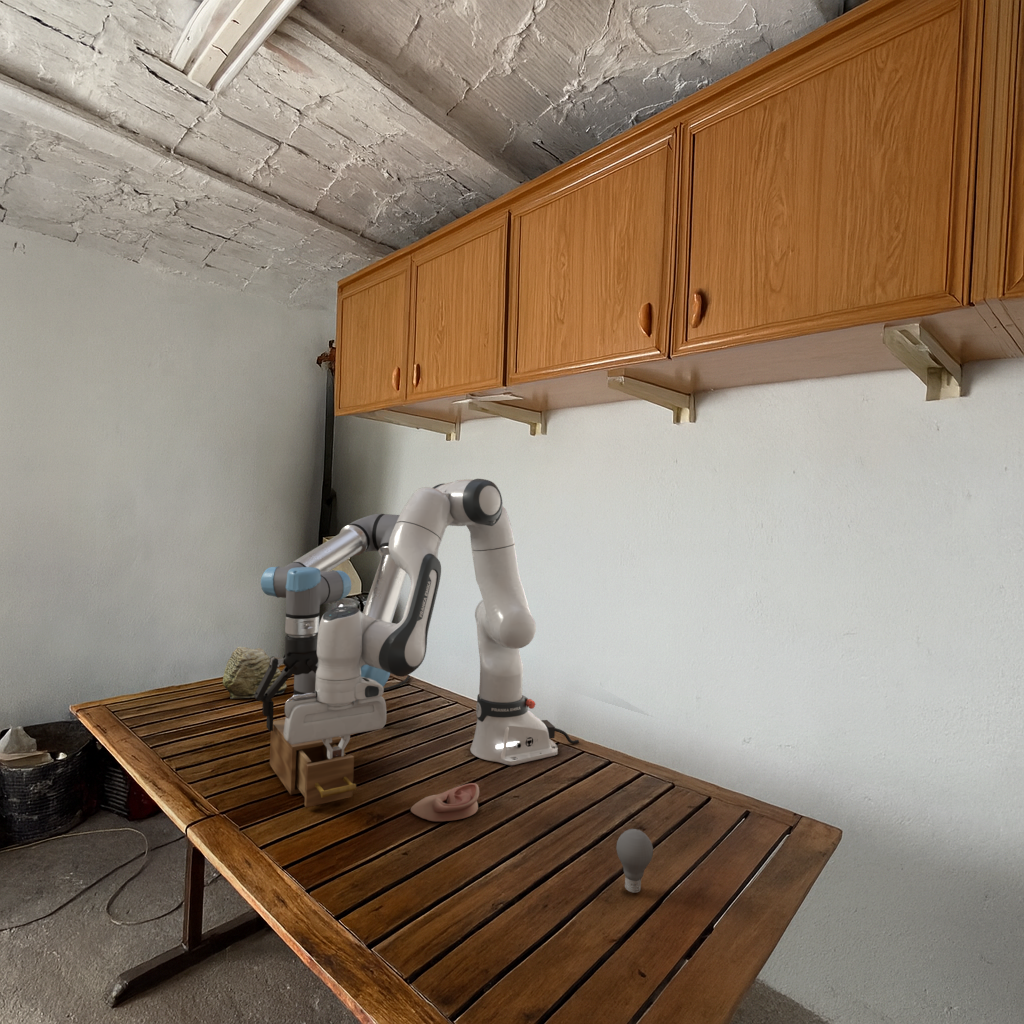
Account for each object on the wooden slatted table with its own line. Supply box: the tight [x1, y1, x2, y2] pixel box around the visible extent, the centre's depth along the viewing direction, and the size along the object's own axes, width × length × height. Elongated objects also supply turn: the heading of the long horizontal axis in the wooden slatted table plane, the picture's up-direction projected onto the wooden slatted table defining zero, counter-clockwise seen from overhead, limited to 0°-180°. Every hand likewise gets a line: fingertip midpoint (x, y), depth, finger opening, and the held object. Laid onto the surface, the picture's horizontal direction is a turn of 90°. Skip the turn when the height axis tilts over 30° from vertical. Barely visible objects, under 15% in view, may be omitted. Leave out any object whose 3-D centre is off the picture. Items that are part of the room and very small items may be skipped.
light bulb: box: [615, 828, 654, 894], centre depth 106 cm, size 6×6×10 cm
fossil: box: [222, 646, 288, 699], centre depth 198 cm, size 9×18×15 cm, turn 132°
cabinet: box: [269, 718, 342, 796], centre depth 144 cm, size 18×11×10 cm, turn 35°
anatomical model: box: [410, 782, 480, 822], centre depth 131 cm, size 13×4×12 cm
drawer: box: [295, 743, 357, 808], centre depth 134 cm, size 22×10×8 cm, turn 35°
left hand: (299, 723), depth 149 cm, fingers open, 13 cm apart
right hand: (335, 757), depth 127 cm, fingers closed
